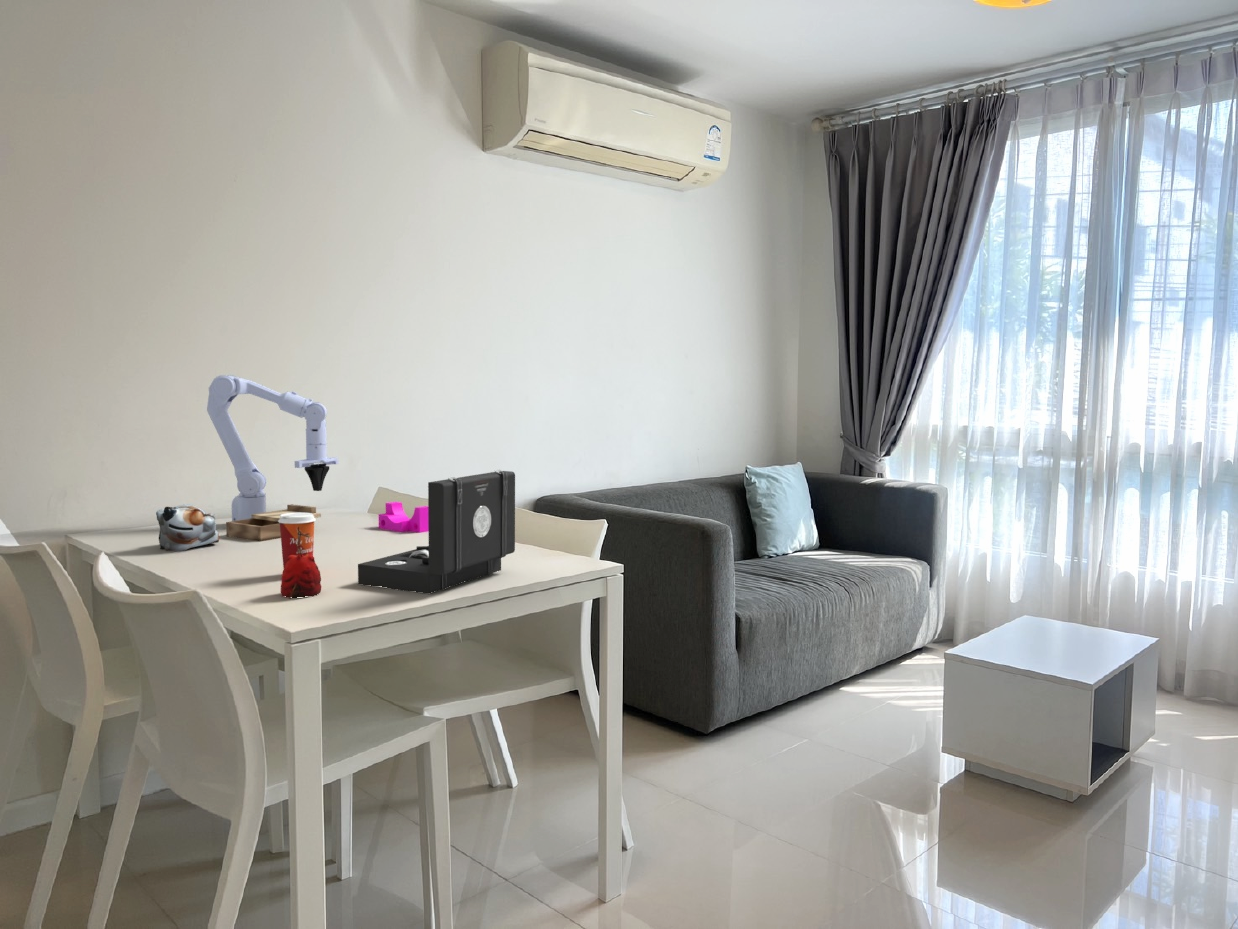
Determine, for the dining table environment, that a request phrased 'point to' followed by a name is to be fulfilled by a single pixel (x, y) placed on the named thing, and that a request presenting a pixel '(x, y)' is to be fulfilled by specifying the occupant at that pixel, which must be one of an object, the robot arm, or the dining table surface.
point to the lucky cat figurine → (185, 528)
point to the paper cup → (290, 536)
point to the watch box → (454, 536)
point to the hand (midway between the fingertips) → (317, 490)
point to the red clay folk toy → (300, 574)
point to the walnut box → (253, 529)
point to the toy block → (404, 519)
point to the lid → (290, 509)
